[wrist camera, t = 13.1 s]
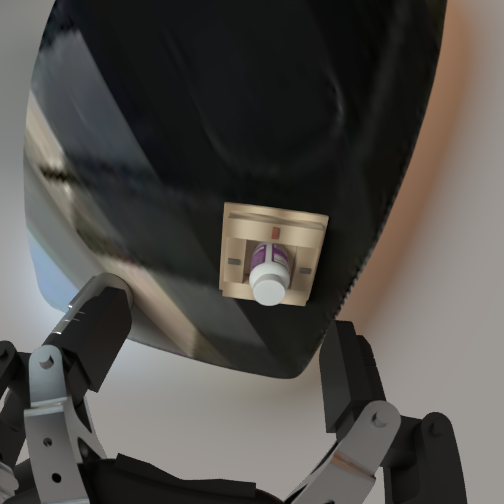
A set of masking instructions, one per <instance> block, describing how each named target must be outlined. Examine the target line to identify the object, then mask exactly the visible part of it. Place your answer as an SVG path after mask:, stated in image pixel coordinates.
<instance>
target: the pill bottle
mask: <svg viewBox="0 0 504 504" xmlns="http://www.w3.org/2000/svg"><path fill="white" fill-rule="evenodd" d="M249 282H250V286H251V288H252V289H253V295H254V298H255V299H256V300H257V301H258V302H259V303H261V304H263V305H267V306H272V305H276V304H278V303H280V302H281V301H282V300H283V299H284V297H285V291H286V290H287V288H288V286H289V283H290V275H289V264H288V256H287V252H286V250H285V248H284V247H283V246H282V245H281V244H279V243H271V242H263V243H261V244H259V245H258V246H257V247H256V248H255V249H254V251H253V254H252V261H251V268H250V276H249Z"/></svg>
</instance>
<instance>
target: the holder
mask: <svg viewBox="0 0 504 504" xmlns="http://www.w3.org/2000/svg"><path fill="white" fill-rule="evenodd" d="M328 219H329V217H328V216H326V215H320V214H313V213H307V212H300V211H293V210H286V209H279V208H271V207H263V206H256V205H248V204H239V203H231V202H225V204H224V218H223V233H222V249H221V266H220V285H219V289H221V290H223V296H228V297H235V298H242V299H250V300H256V299H255V298H254V295H253V289H252V288H251V286H250V282H249V276H250V268H251V261H252V254H253V251H254V249H255V248H256V247H257V246H258V245H259V244H261V243H263V242H271V243H279V244H281V245H282V246H283V247H284V248H285V250H286V252H287V256H288V264H289V275H290V283H289V286H288V288H287V290H286V291H285V297H284V299H283V300H282V301H281V302H280V303H282V304H291V305H300V306H305V304H306V300H308V299H309V295H310V291H311V288H312V284H313V280H314V276H315V273H316V269H317V265H318V261H319V257H320V253H321V249H322V245H323V240H324V236H325V232H326V227H327V223H328Z"/></svg>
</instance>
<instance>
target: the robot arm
mask: <svg viewBox="0 0 504 504" xmlns="http://www.w3.org/2000/svg"><path fill="white" fill-rule="evenodd" d="M132 305H133V294H132V292H131V290H130V288H129V287H128V285H127V284H126V283H125V282H124V281H123V280H122V279H120V278H119V277H117V276H115V275H113V274H109V273H103V274H100V275H99V276H97V277H94V276H93V277H92V278H91V279H90V280H89V281H88V282H87V283H86V285H85V286H84V287H83V288H82V289H81V290H80V291H79V293H78V294H77V295H76V296H75V297H74V298H73V300H72V301H71V302H70V303H69V305H68V307H69V310H68V312H67V313H66V314H65V315H64V317H63V318H62V319H61V320H60V322H59V323H58V324H57V326H56V327H55V328H54V330H53V331H52V332H51V333H50V335H49V336H48V337H47V339H46V340H45V342H44V343H43V344H42V346H41V347H39V348H37V349H36V350H35V351H34V352H33V353H24V352H17V350H16V349H15V347H14V345H13V344H12V343H11V342H10V341H0V399H1V397H2V395H3V394H4V392H5V390H6V388H7V387H8V388H9V391H8V393H7V395H6V397H5V401H4V407H3V409H2V411H1V413H0V504H362V503H363V501H364V500H365V498H366V497H367V495H368V494H369V492H370V491H371V489H372V487H373V486H374V484H375V481H376V477H374V475H375V472H376V470H377V469H378V467H379V466H380V467H383V473H384V488H385V504H467V497H466V490H465V483H464V477H463V472H462V466H461V461H460V456H459V452H458V447H457V443H456V439H455V436H454V431H453V428H452V424H451V422H450V420H449V419H448V418H447V417H446V416H445V415H444V414H442V413H439V412H432V413H429V414H427V415H426V416H425V417H424V418H423V419H416V418H411V417H406V416H402V415H400V414H399V412H398V410H397V409H396V408H395V406H393V405H392V404H390V403H389V402H387V401H386V398H385V394H384V391H383V387H382V383H381V380H380V376H379V372H378V369H377V367H376V362H375V359H374V358H373V357H374V355H373V352H372V349H371V346H370V344H369V343H368V342H367V340H366V339H365V338H364V337H363V335H356V332H355V329H354V326H353V323H352V322H351V321H339V320H332V321H331V323H330V325H329V328H328V331H327V333H326V336H325V338H324V341H323V343H322V346H321V349H320V354H319V365H320V372H321V382H322V390H323V400H324V411H325V422H326V433H336V438H337V440H336V441H335V443H334V444H333V445H332V447H331V448H330V449H329V450H328V452H327V453H326V454H325V456H324V457H323V458H322V459H321V461H320V462H319V463H318V464H317V465H316V467H315V468H314V469H313V470H312V472H311V473H310V474H309V475H308V476H307V477H306V478H305V480H303V481H302V482H301V483H300V484H299V485H298V486H297V487H296V488H295V489H294V490H293V491H292V492H291V493H290V494H289V496H288V497H287V498H286V499H285V500H284V501H282V500H280V499H279V498H277V497H276V496H274V495H272V494H270V493H267V492H265V491H263V490H259V489H256V483H253V482H242V481H233V480H225V479H208V480H182V479H179V478H177V477H175V476H173V475H171V474H169V473H167V472H165V471H163V470H161V469H159V468H157V467H155V466H153V465H152V464H150V463H147V462H144V461H140V460H137V459H134V458H131V457H128V456H125V455H122V454H120V453H118V455H117V458H116V459H107V456H106V454H105V452H104V449H103V447H102V446H101V444H100V442H99V440H98V438H97V436H96V433H95V429H94V426H93V422H92V419H91V415H90V411H89V407H88V403H87V399H86V396H85V393H86V392H87V389H89V390H91V391H94V392H98V391H99V389H100V387H101V385H102V383H103V381H104V379H105V377H106V375H107V373H108V371H109V369H110V367H111V365H112V363H113V362H114V360H115V358H116V356H117V354H118V352H119V350H120V349H121V347H122V345H123V343H124V341H125V340H126V338H127V336H128V334H129V332H130V329H131V325H132V318H131V313H130V308H131V307H132ZM26 438H27V445H28V451H29V456H30V458H29V459H27V460H25V461H23V462H22V463H20V464H18V465H16V466H15V464H16V461H17V459H18V456H19V454H20V451H21V448H22V446H23V443H24V441H25V439H26Z"/></svg>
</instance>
